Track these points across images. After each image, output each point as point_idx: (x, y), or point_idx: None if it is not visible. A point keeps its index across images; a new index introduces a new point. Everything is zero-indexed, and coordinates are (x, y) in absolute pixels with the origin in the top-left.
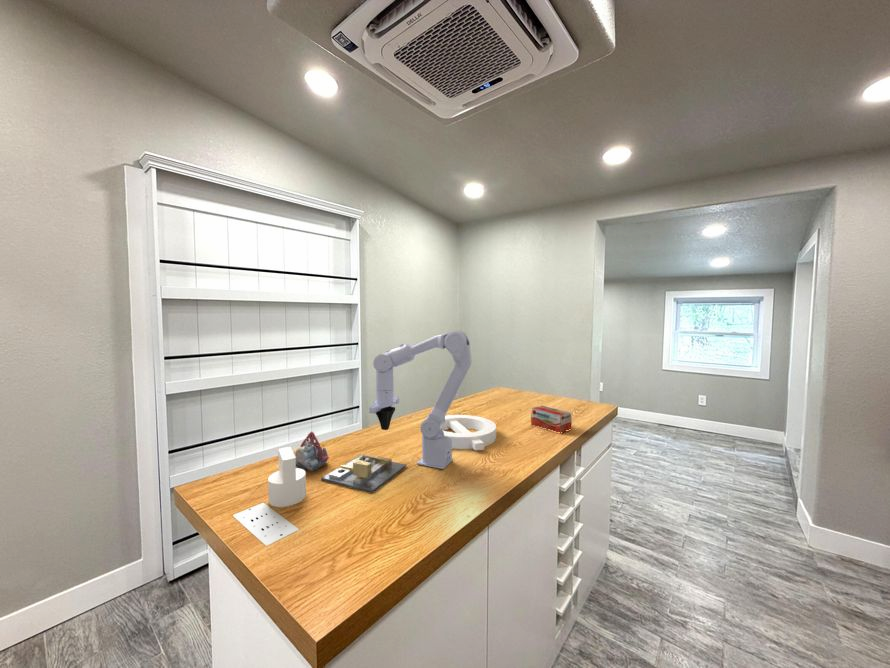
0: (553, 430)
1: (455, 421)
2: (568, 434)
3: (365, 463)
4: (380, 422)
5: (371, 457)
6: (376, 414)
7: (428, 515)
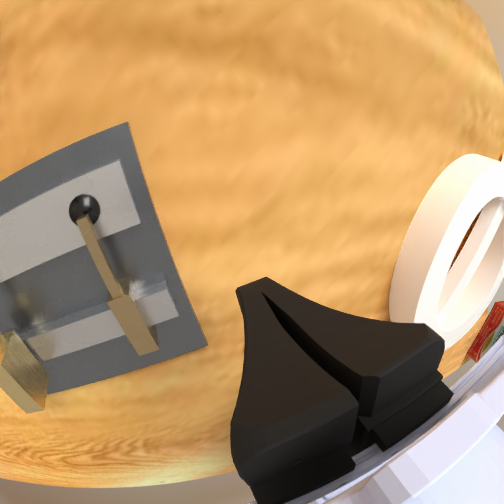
0: (474, 344)
1: (500, 217)
2: (465, 358)
3: (24, 401)
4: (248, 327)
5: (101, 275)
6: (238, 398)
7: (112, 468)
